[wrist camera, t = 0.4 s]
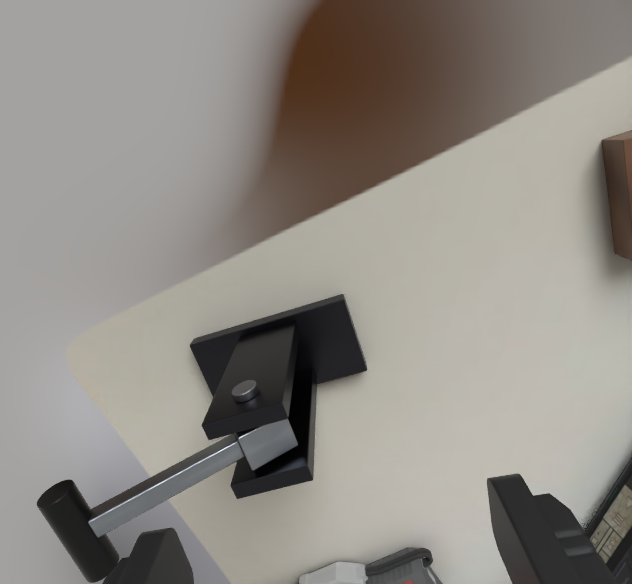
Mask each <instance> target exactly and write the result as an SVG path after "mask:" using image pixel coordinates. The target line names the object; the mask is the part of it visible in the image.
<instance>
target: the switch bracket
mask: <svg viewBox="0 0 632 584" xmlns="http://www.w3.org/2000/svg"><path fill="white" fill-rule="evenodd" d="M190 347H191V350H192V352H193V354H194V356H195V358H196V360H197V363H198V365H199V367H200V369H201V371H202V373H203V376H204V378H205V380H206V382H207V384H208V386H209V389H210V391H211V393H212V395H213V397H214V398H213V400H212V402H211V405H210V407H209V409H208V412H207V414H206V416H205V419H204V421H203V423H202V427H203V429H204V431H205V433H206V435H207V438H208V439H209V440H211V439H215V438H219V437H223V436H226V435H230V434H234V433H237V432H241V431H245V430H249V429H252V428H256V427H260V426H263V425H267V424H271V423H275V422H278V421H282V420H286V419H288V420H289V423H290V425H291V428H292V430H293V433H294V435H295V438H296V440H297V443H298V446H296V447H294V448H292V449H291V450H289V451H287V452H285V453H284V454H282V455H280V456H278V457H277V458H275V459H273V460H271V461H269V462H268V463H266V464H264V465H262V466H261V467H259V468H257V469H255V470H252V469H251V467H250V465H249V463H248V461H247V459H246V456H245V457H243V458H241V459H240V460H238V461H237V464H236V467H235V471H234V475H233V478H232V482H231V488H232V490H233V492H234V494H235V496H236V498H237V499H239V498H243V497H247V496H251V495H255V494H259V493H263V492H267V491H271V490H275V489H279V488H283V487H287V486H291V485H295V484H299V483H303V482H307V481H311V480H313V471H314V445H315V418H316V392H317V384H320V383H324V382H327V381H331V380H334V379H338V378H342V377H345V376H349V375H352V374H356V373H360V372H363V371H367V366H366V361H365V358H364V355H363V352H362V349H361V346H360V343H359V340H358V337H357V334H356V331H355V328H354V325H353V321H352V318H351V315H350V312H349V309H348V306H347V303H346V300H345V297H344V294H341V295H338V296H335V297H331V298H328V299H325V300H321V301H318V302H315V303H311V304H308V305H305V306H302V307H298V308H295V309H292V310H288V311H285V312H282V313H278V314H275V315H272V316H268V317H265V318H262V319H258V320H255V321H252V322H248V323H245V324H242V325H238V326H235V327H232V328H228V329H225V330H222V331H218V332H215V333H212V334H208V335H205V336H202V337H198V338H195V339H194V340H193V341H192V343H191V344H190Z"/></svg>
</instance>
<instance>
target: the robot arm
mask: <svg viewBox="0 0 632 584" xmlns="http://www.w3.org/2000/svg"><path fill="white" fill-rule="evenodd" d="M487 487H488V496H489V505H490V513H491V522H492V528H493V533H494V537H495V540H496V544H497V547H498V550H499V552H500V555H501V557H502V560H503V562H504V564H505V567H506V569H507V572H508V574H509V576H510V579H511V581H512V584H619V583H618V582H617V580H616V579H615V577H614V576H613V574H612V573H611V571H610V570H609V568H608V567H607V565H606V564H605V562H604V560H603V559H602V557H601V556H600V554H599V553H597V551H596V548H595V547H594V545H593V544H592V542H591V541H590V539H589V538H588V536H587V535H585V533H584V530H583V528H582V527H581V525H580V524H579V522H578V521H577V519H576V518H575V516H574V515H573V513H572V512H571V510H570V509H569V508H567V507H566V506H565V505H564V504H562V503H561V502H560V501H558V500H557V499H556V498H555V497H553V496H552V495H551V494H550V493H549V494H542V495H536V496H533V495H532V493H531V492H530V490H529V488H528V486H527V485H526V483H525V481H524V480H523V478H522V476H521V475H520V474H512V475H506V476H499V477H493V478H488V479H487ZM103 584H194V579H193V572H192V568H191V566H190V563H189V561H188V559H187V557H186V554H185V552H184V550H183V547H182V545H181V542H180V540H179V538H178V535H177V533H176V531H175V530H174V529H173V528H166V529H160V530H154V531H148V532H143V533H142V534H141V535H140V536H139V537H138V539H137V541H136V543H135V546H134V548H133V550H132V552H131V554H130V557H128V558H122V559H121V560H120V561H119V563H118V564H117V565H116V566H115V567H114V568H113V570H112V571H111V572H110V573H109V574H108V576H107V577H106V578H105V580H104V582H103Z"/></svg>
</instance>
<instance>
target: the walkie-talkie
mask: <svg viewBox="0 0 632 584" xmlns="http://www.w3.org/2000/svg"><path fill="white" fill-rule="evenodd" d="M423 557H426V558H423ZM432 562H433V559H432V555H431V552H430V551H429V550H428V549H425V548H421V549H412V548H407V549H404V550H402V551H400V552H397V553H395V554H393V555H390V556H388V557H386V558H383V559H381V560H379V561H376V562H374V563H371V564H369V565H367V566H365V565H364V564H361V563H352V562H340V561H338V562H335V563H333V564H330V565H328V566H326V567H323V568H321V569H319V570H316V571H314V572H312V573H306V574H304V575H302V576H300V579H299V584H442V583H441V582H440V580H439V579H438V577H437V576H436V575H435V573H434V572H433V570H432V569H431V567H430V566H429V565H431V564H432Z"/></svg>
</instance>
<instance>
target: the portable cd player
mask: <svg viewBox="0 0 632 584" xmlns="http://www.w3.org/2000/svg"><path fill="white" fill-rule="evenodd" d="M584 533H585V535H587V536H588V538H589V539H590V541H591V542H592V544H593V545H594V547H595V548H596V551H597V553H599V554H600V556H601V557H602V559H603V560H604V562H605V564H606V565H607V567H608V568H609V570H610V571H611V573H612V574H613V576H614V577H615V579H616V580H617V582H618V583H619V584H632V458H631V460H630V461H629V463H628V465H627V466H626V468H625V469H624V471H623V472H622V474H621V476H620V477H619V479H618V480H617V482H616V483H615V485H614V486H613V488H612V490H611V491H610V493H609V494H608V496H607V497H606V499H605V501H604V502H603V504H602V505H601V507H600V508H599V510H598V512H597V513H596V515H595V516H594V518H593V519H592V521H591V522H590V524H589V526H588V527H587V529H586V530H585V532H584Z"/></svg>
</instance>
